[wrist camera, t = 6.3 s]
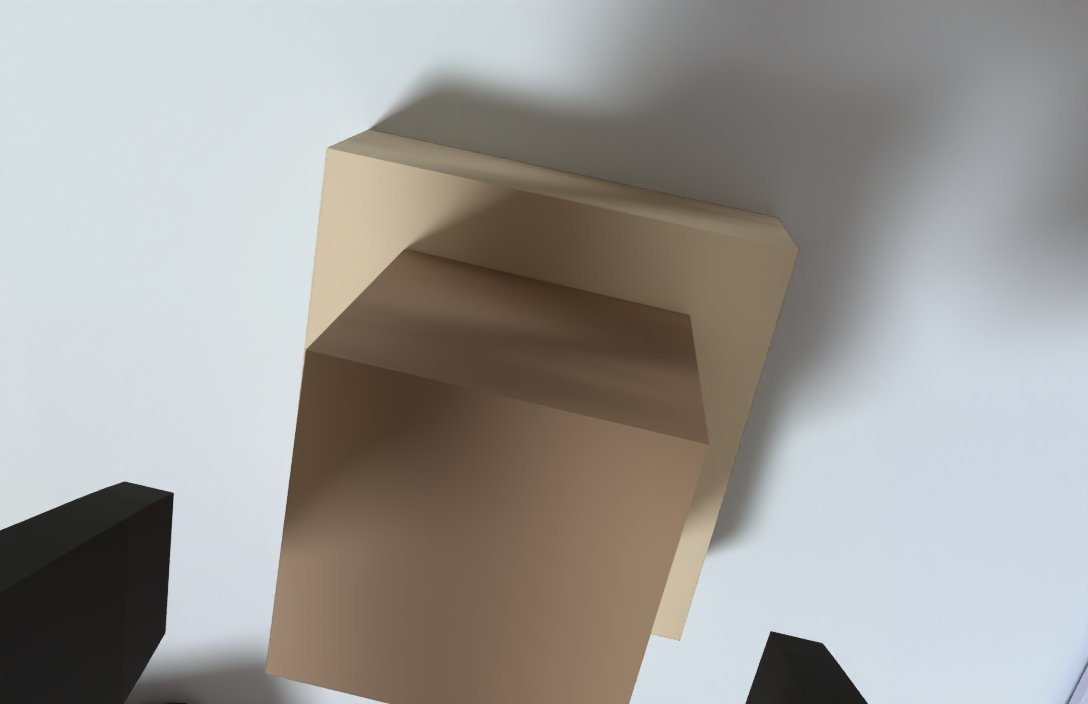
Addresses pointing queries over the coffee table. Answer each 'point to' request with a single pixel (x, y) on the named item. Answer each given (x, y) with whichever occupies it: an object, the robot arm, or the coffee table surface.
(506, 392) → the walnut cube
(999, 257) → the coffee table surface
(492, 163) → the oak base
